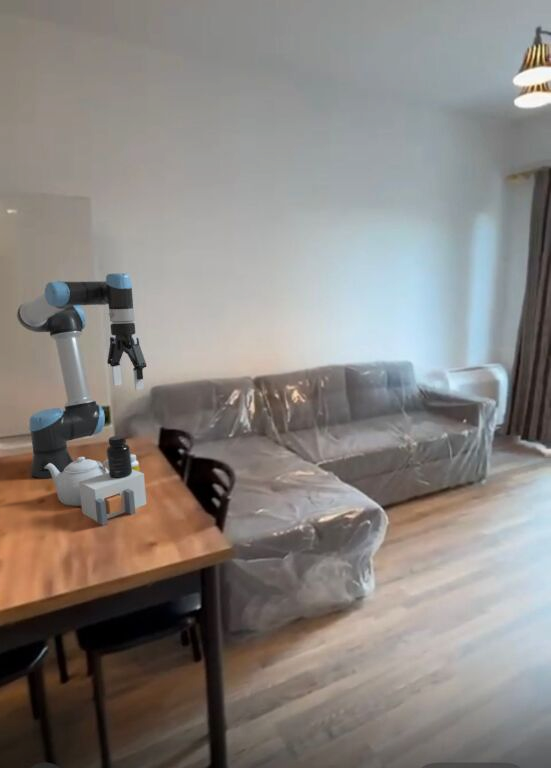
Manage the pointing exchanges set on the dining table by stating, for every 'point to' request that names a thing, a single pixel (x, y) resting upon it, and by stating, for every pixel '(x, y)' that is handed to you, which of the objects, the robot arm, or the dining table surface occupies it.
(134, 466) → the supplement bottle
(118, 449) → the supplement bottle
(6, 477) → the dining table surface
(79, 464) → the teapot
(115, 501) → the block
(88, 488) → the box
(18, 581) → the dining table surface
